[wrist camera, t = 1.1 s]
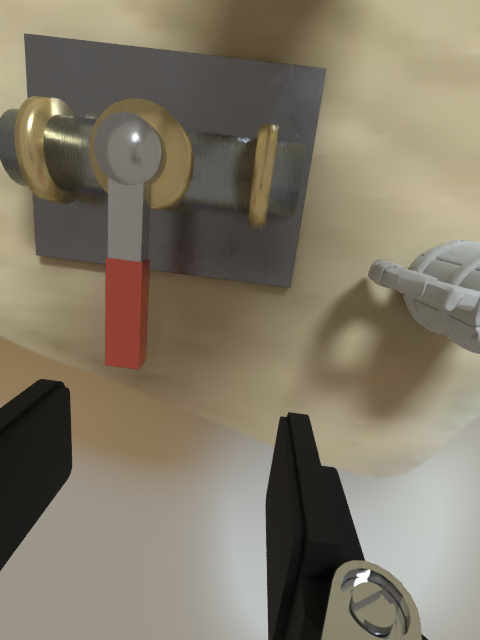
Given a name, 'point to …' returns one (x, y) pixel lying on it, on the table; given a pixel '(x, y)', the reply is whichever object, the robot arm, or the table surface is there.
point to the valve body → (169, 154)
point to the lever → (128, 230)
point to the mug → (440, 290)
